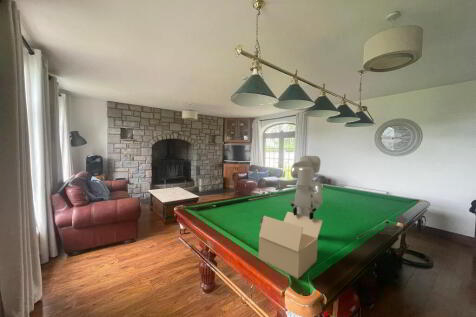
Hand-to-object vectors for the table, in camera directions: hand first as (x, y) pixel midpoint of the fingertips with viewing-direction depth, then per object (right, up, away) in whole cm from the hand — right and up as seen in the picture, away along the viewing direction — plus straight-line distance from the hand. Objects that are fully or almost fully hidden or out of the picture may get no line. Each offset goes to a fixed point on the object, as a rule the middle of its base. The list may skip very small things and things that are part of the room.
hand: (302, 216), depth 108 cm
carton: (-12, -19, -12) cm, 26 cm away
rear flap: (-2, -3, -1) cm, 4 cm away
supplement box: (-21, -19, +5) cm, 28 cm away
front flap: (-18, -1, -19) cm, 26 cm away
